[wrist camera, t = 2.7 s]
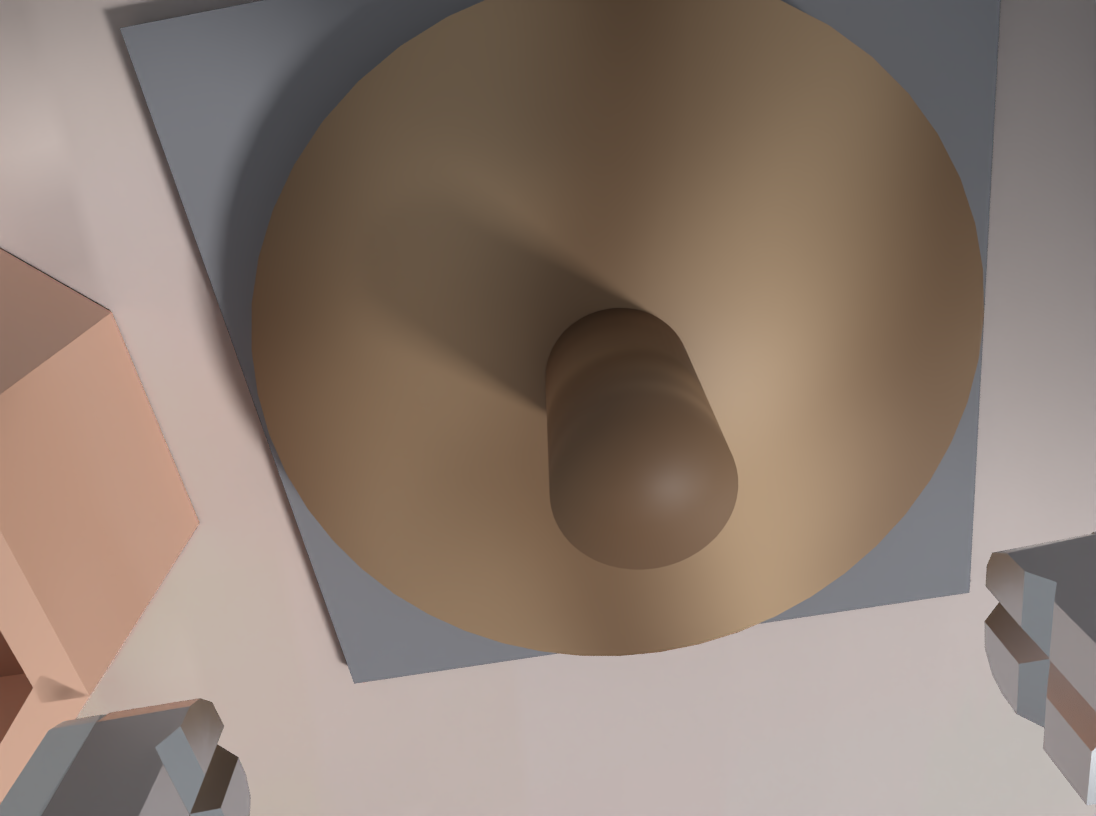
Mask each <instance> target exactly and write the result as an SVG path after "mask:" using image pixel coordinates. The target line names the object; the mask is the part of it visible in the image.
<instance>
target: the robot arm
mask: <svg viewBox="0 0 1096 816" xmlns="http://www.w3.org/2000/svg"><path fill="white" fill-rule="evenodd" d="M986 587H987V588H988V590H989V591H990V592H991V593H992V594H993V595H994V596H995V598H996V599H997V600H998V601H999V603H998V605H997V606H996V607H995V609H994V610H993V611H992V613H991V614H990V615H989V616H988V618H987V619H986V620H985V650H986V654H987V658H988V661H989V665H990V668H991V672H992V675H993V677H994V679H995V681H996V683H997V685H998V687H999V689H1000V691H1001V693H1002V695H1003V696H1004V697H1005V699H1006V700H1007V701H1008V703H1009V704H1010V705H1011V707H1012V708H1013V710H1014V711H1015V712H1016V714H1018V715H1020V716H1022V717H1024V718H1026V719H1028V720H1030V721H1032V722H1034V723H1036V724H1038V725H1040V726H1042V727H1044V744H1043V749H1044V751H1045V752H1046V753H1047V754H1048V756H1049V757H1050V758H1051V760H1052V761H1053V762H1054V764H1055V765H1056V766H1057V767H1058V769H1059V770H1060V771H1061V773H1062V774H1063V775H1064V777H1065V778H1066V779H1067V780H1068V782H1069V783H1070V784H1071V786H1072V787H1073V788H1074V790H1075V791H1076V792H1077V793H1078V795H1079V796H1080V797H1081V799H1082V800H1083V801H1084V802H1085V804H1086V805H1091V804H1096V532H1093V533H1092V534H1090V535H1083V536H1078V537H1073V538H1068V539H1062V540H1057V541H1052V542H1047V543H1041V544H1036V545H1031V546H1025V547H1020V548H1015V549H1010V550H1004V551H999V552H994V553H992V555H991V557H990V560H989V562H988V564H987V572H986ZM223 728H224V725H223V723H222V721H221V719H220V717H219V715H218V713H217V711H216V709H215V707H214V705H213V703H212V702H210V701H206V700H203V699H200V698H199V699H193V700H187V701H180V702H174V703H168V704H162V705H156V706H149V707H143V708H137V709H131V710H124V711H118V712H112V713H109V714H107V715H97V716H91V717H85V718H80V719H74V720H68V721H63V722H61V723H60V724H58V725H56V726H55V727H53V728H51V729H50V730H48V732H47V733H46V735H45V737H44V738H43V740H42V741H41V743H40V744H39V746H38V747H37V749H36V750H35V752H34V753H33V755H32V756H31V758H30V759H29V761H28V763H27V764H26V766H25V767H24V769H23V770H22V772H21V773H20V775H19V776H18V778H17V779H16V781H15V782H14V784H13V785H12V787H11V789H10V790H9V792H8V793H7V795H6V796H5V798H4V799H3V801H2V802H1V804H0V816H250V799H251V797H250V792H249V787H248V782H247V777H246V774H245V771H244V769H243V767H242V764H241V762H240V760H239V758H238V757H237V756H235V755H234V754H232V753H230V752H229V751H227V750H226V749H224V748H222V747H221V746H219V745H217V743H218V741H219V738H220V735H221V733H222V730H223Z"/></svg>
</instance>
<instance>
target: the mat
mask: <svg viewBox="0 0 1096 816" xmlns="http://www.w3.org/2000/svg"><path fill="white" fill-rule="evenodd" d="M482 1H484V0H261V1H256V2H251V3H246V4H241V5H236V6H231V7H226V8H221V9H215V10H210V11H205V12H200V13H195V14H190V15H185V16H180V17H175V18H169V19H164V20H159V21H154V22H149V23H144V24H139V25H134V26H129V27H123V28H120V30H121V33H122V36H123V38H124V41H125V44H126V47H127V50H128V52H129V55H130V58H131V61H132V64H133V66H134V69H135V72H136V75H137V77H138V80H139V83H140V86H141V89H142V91H143V94H144V97H145V100H146V103H147V105H148V108H149V111H150V114H151V117H152V119H153V122H154V125H155V128H156V131H157V133H158V136H159V139H160V142H161V145H162V147H163V150H164V153H165V156H166V159H167V161H168V164H169V167H170V170H171V173H172V175H173V178H174V181H175V184H176V187H177V189H178V192H179V195H180V198H181V201H182V203H183V206H184V209H185V212H186V215H187V217H188V220H189V223H190V226H191V229H192V231H193V234H194V237H195V240H196V242H197V245H198V248H199V251H200V254H201V256H202V259H203V262H204V265H205V268H206V270H207V273H208V276H209V279H210V282H211V284H212V287H213V290H214V293H215V296H216V298H217V301H218V304H219V307H220V310H221V312H222V315H223V318H224V321H225V324H226V326H227V329H228V332H229V335H230V338H231V340H232V343H233V346H234V349H235V352H236V354H237V357H238V360H239V363H240V366H241V368H242V371H243V374H244V377H245V380H246V382H247V385H248V388H249V391H250V394H251V396H252V399H253V402H254V405H255V408H256V410H257V413H258V416H259V419H260V421H261V424H262V427H263V430H264V433H265V435H266V438H267V441H268V444H269V447H270V449H271V452H272V455H273V458H274V461H275V463H276V466H277V469H278V472H279V475H280V477H281V480H282V483H283V486H284V489H285V491H286V494H287V497H288V500H289V503H290V505H291V508H292V511H293V514H294V517H295V519H296V522H297V525H298V528H299V531H300V533H301V536H302V539H303V542H304V545H305V547H306V550H307V553H308V556H309V559H310V561H311V564H312V567H313V570H314V573H315V575H316V578H317V581H318V584H319V586H320V589H321V592H322V595H323V598H324V600H325V603H326V606H327V609H328V612H329V614H330V617H331V620H332V623H333V626H334V628H335V631H336V634H337V637H338V640H339V642H340V645H341V648H342V651H343V654H344V656H345V659H346V662H347V665H348V668H349V670H350V673H351V676H352V679H353V682H354V684H355V683H361V682H368V681H375V680H382V679H388V678H395V677H402V676H409V675H415V674H422V673H429V672H436V671H442V670H449V669H456V668H463V667H470V666H476V665H483V664H490V663H497V662H503V661H510V660H517V659H524V658H530V657H537V656H544V655H551V654H557V653H552V652H543V651H537V650H532V649H528V648H523V647H518V646H514V645H509V644H504V643H501V642H498V641H494V640H491V639H488V638H485V637H482V636H479V635H476V634H473V633H470V632H467V631H464V630H462V629H460V628H458V627H455V626H453V625H451V624H449V623H447V622H444V621H442V620H440V619H438V618H436V617H433V616H431V615H429V614H427V613H425V612H424V611H422V610H420V609H419V608H417V607H415V606H414V605H412V604H410V603H409V602H407V601H405V600H404V599H402V598H400V597H399V596H397V595H395V594H394V593H392V592H391V591H390V590H389V589H387V588H386V587H385V586H383V585H382V584H381V583H379V582H378V581H377V580H376V579H374V578H373V577H372V576H370V575H369V574H368V573H366V572H365V571H364V570H362V569H361V568H360V567H359V566H358V565H357V564H356V563H355V562H354V561H353V560H352V559H351V558H350V557H349V556H348V555H347V554H346V553H345V552H344V551H343V550H342V549H341V548H340V547H339V546H338V545H337V544H336V543H335V542H334V541H333V540H332V539H331V537H330V536H329V535H328V534H327V532H326V531H325V530H324V529H323V527H322V526H321V525H320V524H319V522H318V521H317V520H316V519H315V517H314V516H313V515H312V514H311V512H310V511H309V510H308V508H307V507H306V505H305V504H304V502H303V500H302V499H301V497H300V495H299V494H298V492H297V490H296V489H295V487H294V485H293V484H292V482H291V480H290V479H289V477H288V475H287V474H286V472H285V469H284V467H283V465H282V462H281V460H280V458H279V456H278V453H277V451H276V449H275V446H274V444H273V442H272V440H271V437H270V435H269V432H268V428H267V425H266V421H265V418H264V414H263V411H262V407H261V404H260V400H259V396H258V393H257V385H256V378H255V371H254V364H253V357H252V298H253V291H254V285H255V278H256V271H257V264H258V258H259V254H260V251H261V248H262V244H263V241H264V238H265V234H266V231H267V228H268V224H269V221H270V218H271V214H272V211H273V209H274V207H275V204H276V202H277V200H278V198H279V196H280V194H281V192H282V189H283V187H284V185H285V183H286V181H287V179H288V177H289V174H290V172H291V170H292V168H293V166H294V164H295V163H296V161H297V160H298V158H299V157H300V155H301V153H302V152H303V150H304V149H305V147H306V146H307V144H308V143H309V141H310V140H311V138H312V137H313V135H314V134H315V132H316V131H317V129H318V128H319V126H320V125H321V123H322V122H323V120H324V119H325V118H326V117H327V116H328V115H329V114H330V113H331V111H332V110H333V109H334V108H335V107H336V106H337V105H338V104H339V102H340V101H341V100H342V99H343V98H344V97H345V96H346V95H347V93H348V92H349V91H350V90H351V89H352V88H353V87H354V86H355V84H356V83H357V82H358V81H359V80H361V79H362V78H363V77H364V76H365V75H366V74H368V73H369V72H370V71H371V70H372V69H374V68H375V67H376V66H377V65H378V64H380V63H381V62H382V61H383V60H384V59H385V58H387V57H388V56H389V55H390V54H391V53H393V52H394V51H395V50H396V49H397V48H399V47H400V46H401V45H403V44H404V43H406V42H408V41H409V40H411V39H412V38H414V37H416V36H417V35H419V34H421V33H422V32H424V31H425V30H427V29H429V28H430V27H432V26H433V25H435V24H437V23H438V22H440V21H441V20H443V19H445V18H446V17H448V16H450V15H452V14H455V13H457V12H459V11H462V10H464V9H466V8H468V7H471V6H473V5H475V4H478V3H480V2H482ZM781 1H783V2H785V3H787V4H789V5H791V6H793V7H795V8H797V9H799V10H800V11H802V12H804V13H806V14H808V15H810V16H812V17H814V18H816V19H818V20H820V21H822V22H824V23H826V24H828V25H829V26H831V27H832V28H833V29H835V30H836V31H838V32H839V33H840V34H842V35H843V36H844V37H846V38H847V39H848V40H850V41H851V42H853V43H854V44H855V45H857V46H858V47H859V48H861V49H862V50H863V51H865V52H866V53H868V54H869V55H870V56H872V57H873V58H874V59H875V60H876V61H877V62H878V63H879V64H880V65H881V66H882V67H883V68H884V69H885V70H886V71H887V72H888V73H889V74H890V75H891V76H892V77H893V78H894V79H895V80H896V81H897V82H898V83H899V84H900V85H901V86H902V87H903V88H904V89H905V90H906V91H907V92H908V93H909V95H910V96H911V98H912V99H913V100H914V102H915V103H916V104H917V106H918V107H919V109H920V110H921V111H922V113H923V114H924V115H925V117H926V118H927V120H928V121H929V122H930V124H931V125H932V127H933V128H934V129H935V131H936V132H937V133H938V135H939V137H940V139H941V141H942V143H943V145H944V147H945V149H946V151H947V153H948V155H949V157H950V159H951V161H952V163H953V165H954V166H955V168H956V170H957V172H958V174H959V176H960V178H961V181H962V185H963V188H964V191H965V194H966V197H967V200H968V203H969V206H970V209H971V212H972V215H973V218H974V221H975V225H976V231H977V237H978V243H979V248H980V254H981V260H982V266H983V291H984V305H985V286H986V267H987V248H988V229H989V210H990V191H991V172H992V153H993V134H994V115H995V96H996V77H997V58H998V40H999V21H1000V2H1001V0H781ZM983 324H984V319H983ZM982 343H983V328H982V336H981V344H980V353H979V360H978V364H977V368H976V372H975V376H974V379H973V383H972V387H971V391H970V395H969V399H968V402H967V405H966V407H965V410H964V412H963V415H962V417H961V420H960V422H959V425H958V427H957V430H956V432H955V435H954V437H953V440H952V442H951V444H950V446H949V448H948V449H947V451H946V453H945V455H944V457H943V458H942V460H941V462H940V464H939V465H938V467H937V469H936V471H935V473H934V474H933V476H932V478H931V480H930V481H929V483H928V484H927V485H926V487H925V488H924V490H923V491H922V492H921V494H920V495H919V496H918V498H917V499H916V501H915V502H914V503H913V505H912V506H911V507H910V509H909V510H908V512H907V513H906V514H905V515H904V517H903V518H902V519H901V520H900V521H899V522H898V523H897V524H896V525H895V526H894V527H893V528H892V530H891V531H890V532H889V533H888V534H887V535H886V536H885V537H884V538H883V539H882V540H881V542H880V543H879V544H878V545H877V546H876V547H875V548H873V549H872V550H871V551H870V552H869V553H868V554H867V555H865V556H864V557H863V558H862V559H861V560H860V561H858V562H857V563H856V564H855V565H854V566H853V567H852V568H850V569H849V570H848V571H847V572H846V573H845V574H843V575H842V576H840V577H839V578H837V579H836V580H834V581H833V582H832V583H830V584H829V585H827V586H826V587H824V588H823V589H822V590H820V591H819V592H817V593H816V594H814V595H813V596H811V597H810V598H808V599H806V600H804V601H802V602H801V603H799V604H797V605H795V606H793V607H792V608H790V609H788V610H786V611H784V612H782V613H781V614H779V615H777V616H775V617H773V618H770V619H768V620H766V621H763V622H761V623H767V622H774V621H781V620H787V619H794V618H801V617H808V616H814V615H821V614H828V613H835V612H842V611H848V610H855V609H862V608H869V607H875V606H882V605H889V604H896V603H902V602H909V601H916V600H923V599H929V598H936V597H943V596H950V595H956V594H963V593H969V590H970V571H971V552H972V533H973V514H974V495H975V476H976V457H977V438H978V419H979V400H980V381H981V362H982ZM759 624H760V623H759Z"/></svg>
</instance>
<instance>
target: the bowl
mask: <svg viewBox="0 0 1096 816" xmlns="http://www.w3.org/2000/svg"><path fill="white" fill-rule="evenodd" d="M198 525H199V521H198V518H197V516H196V513H195V511H194V509H193V506H192V504H191V501H190V499H189V497H188V494H187V492H186V489H185V487H184V485H183V482H182V480H181V477H180V475H179V473H178V470H177V468H176V465H175V463H174V461H173V458H172V456H171V453H170V451H169V449H168V446H167V444H166V441H165V439H164V437H163V434H162V432H161V429H160V427H159V425H158V422H157V420H156V417H155V415H154V413H153V410H152V408H151V405H150V403H149V401H148V398H147V396H146V393H145V391H144V389H143V386H142V384H141V381H140V379H139V377H138V374H137V372H136V369H135V367H134V365H133V362H132V360H131V357H130V355H129V353H128V350H127V348H126V345H125V343H124V341H123V338H122V336H121V333H120V331H119V329H118V326H117V324H116V321H115V319H114V317H113V314H112V312H111V311H109V310H107V309H105V308H104V307H102V306H100V305H98V304H96V303H95V302H93V301H91V300H89V299H88V298H86V297H84V296H82V295H81V294H79V293H77V292H75V291H74V290H72V289H70V288H68V287H67V286H65V285H63V284H61V283H60V282H58V281H56V280H54V279H53V278H51V277H49V276H47V275H46V274H44V273H42V272H40V271H39V270H37V269H35V268H33V267H32V266H30V265H28V264H26V263H25V262H23V261H21V260H19V259H18V258H16V257H14V256H12V255H11V254H9V253H7V252H5V251H4V250H2V249H0V804H1V802H2V801H3V799H4V798H5V796H6V795H7V793H8V792H9V790H10V789H11V787H12V785H13V784H14V782H15V781H16V779H17V778H18V776H19V775H20V773H21V772H22V770H23V769H24V767H25V766H26V764H27V763H28V761H29V759H30V758H31V756H32V755H33V753H34V752H35V750H36V749H37V747H38V746H39V744H40V743H41V741H42V740H43V738H44V737H45V735H46V733H47V732H48V730H50V729H51V728H53V727H55V726H56V725H58V724H60V723H61V722H63V721H68V720H74V719H77V717H78V716H79V714H80V713H81V711H82V710H83V708H84V706H85V705H86V703H87V702H88V700H89V698H90V697H91V695H92V694H93V692H94V691H95V689H96V687H97V686H98V684H99V683H100V681H101V680H102V678H103V676H104V675H105V673H106V672H107V670H108V668H109V667H110V665H111V664H112V662H113V661H114V659H115V657H116V656H117V654H118V653H119V651H120V649H121V648H122V646H123V645H124V643H125V641H126V640H127V638H128V637H129V635H130V633H131V632H132V630H133V629H134V627H135V625H136V624H137V622H138V621H139V619H140V617H141V616H142V614H143V613H144V611H145V609H146V608H147V606H148V605H149V603H150V601H151V600H152V598H153V597H154V595H155V593H156V592H157V590H158V589H159V587H160V585H161V584H162V582H163V581H164V579H165V577H166V576H167V574H168V573H169V571H170V569H171V568H172V566H173V565H174V563H175V562H176V560H177V558H178V557H179V555H180V554H181V552H182V550H183V549H184V547H185V546H186V544H187V542H188V541H189V539H190V538H191V536H192V534H193V533H194V531H195V530H196V528H197V526H198Z"/></svg>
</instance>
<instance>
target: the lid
mask: <svg viewBox="0 0 1096 816" xmlns="http://www.w3.org/2000/svg"><path fill="white" fill-rule="evenodd" d="M983 319H984V291H983V266H982V260H981V254H980V248H979V243H978V237H977V231H976V225H975V221H974V218H973V215H972V212H971V209H970V206H969V203H968V200H967V197H966V194H965V191H964V188H963V185H962V181H961V178H960V176H959V174H958V172H957V170H956V168H955V166H954V165H953V163H952V161H951V159H950V157H949V155H948V153H947V151H946V149H945V147H944V145H943V143H942V141H941V139H940V137H939V135H938V133H937V132H936V131H935V129H934V128H933V127H932V125H931V124H930V122H929V121H928V120H927V118H926V117H925V115H924V114H923V113H922V111H921V110H920V109H919V107H918V106H917V104H916V103H915V102H914V100H913V99H912V98H911V96H910V95H909V93H908V92H907V91H906V90H905V89H904V88H903V87H902V86H901V85H900V84H899V83H898V82H897V81H896V80H895V79H894V78H893V77H892V76H891V75H890V74H889V73H888V72H887V71H886V70H885V69H884V68H883V67H882V66H881V65H880V64H879V63H878V62H877V61H876V60H875V59H874V58H873V57H872V56H870V55H869V54H868V53H866V52H865V51H863V50H862V49H861V48H859V47H858V46H857V45H855V44H854V43H853V42H851V41H850V40H848V39H847V38H846V37H844V36H843V35H842V34H840V33H839V32H838V31H836V30H835V29H833V28H832V27H831V26H829V25H828V24H826V23H824V22H822V21H820V20H818V19H816V18H814V17H812V16H810V15H808V14H806V13H804V12H802V11H800V10H799V9H797V8H795V7H793V6H791V5H789V4H787V3H785V2H783V1H781V0H484V1H482V2H480V3H478V4H475V5H473V6H471V7H468V8H466V9H464V10H462V11H459V12H457V13H455V14H452V15H450V16H448V17H446V18H445V19H443V20H441V21H440V22H438V23H437V24H435V25H433V26H432V27H430V28H429V29H427V30H425V31H424V32H422V33H421V34H419V35H417V36H416V37H414V38H412V39H411V40H409V41H408V42H406V43H404V44H403V45H401V46H400V47H399V48H397V49H396V50H395V51H394V52H393V53H391V54H390V55H389V56H388V57H387V58H385V59H384V60H383V61H382V62H381V63H380V64H378V65H377V66H376V67H375V68H374V69H372V70H371V71H370V72H369V73H368V74H366V75H365V76H364V77H363V78H362V79H361V80H359V81H358V82H357V83H356V84H355V86H354V87H353V88H352V89H351V90H350V91H349V92H348V93H347V95H346V96H345V97H344V98H343V99H342V100H341V101H340V102H339V104H338V105H337V106H336V107H335V108H334V109H333V110H332V111H331V113H330V114H329V115H328V116H327V117H326V118H325V119H324V120H323V122H322V123H321V125H320V126H319V128H318V129H317V131H316V132H315V134H314V135H313V137H312V138H311V140H310V141H309V143H308V144H307V146H306V147H305V149H304V150H303V152H302V153H301V155H300V157H299V158H298V160H297V161H296V163H295V164H294V166H293V168H292V170H291V172H290V174H289V177H288V179H287V181H286V183H285V185H284V187H283V189H282V192H281V194H280V196H279V198H278V200H277V202H276V204H275V207H274V209H273V211H272V214H271V218H270V221H269V224H268V228H267V231H266V234H265V238H264V241H263V244H262V248H261V251H260V254H259V258H258V264H257V271H256V278H255V285H254V291H253V298H252V357H253V364H254V371H255V378H256V385H257V393H258V396H259V400H260V404H261V407H262V411H263V414H264V418H265V421H266V425H267V428H268V432H269V435H270V437H271V440H272V442H273V444H274V446H275V449H276V451H277V453H278V456H279V458H280V460H281V462H282V465H283V467H284V469H285V472H286V474H287V475H288V477H289V479H290V480H291V482H292V484H293V485H294V487H295V489H296V490H297V492H298V494H299V495H300V497H301V499H302V500H303V502H304V504H305V505H306V507H307V508H308V510H309V511H310V512H311V514H312V515H313V516H314V517H315V519H316V520H317V521H318V522H319V524H320V525H321V526H322V527H323V529H324V530H325V531H326V532H327V534H328V535H329V536H330V537H331V539H332V540H333V541H334V542H335V543H336V544H337V545H338V546H339V547H340V548H341V549H342V550H343V551H344V552H345V553H346V554H347V555H348V556H349V557H350V558H351V559H352V560H353V561H354V562H355V563H356V564H357V565H358V566H359V567H360V568H361V569H362V570H364V571H365V572H366V573H368V574H369V575H370V576H372V577H373V578H374V579H376V580H377V581H378V582H379V583H381V584H382V585H383V586H385V587H386V588H387V589H389V590H390V591H391V592H392V593H394V594H395V595H397V596H399V597H400V598H402V599H404V600H405V601H407V602H409V603H410V604H412V605H414V606H415V607H417V608H419V609H420V610H422V611H424V612H425V613H427V614H429V615H431V616H433V617H436V618H438V619H440V620H442V621H444V622H447V623H449V624H451V625H453V626H455V627H458V628H460V629H462V630H464V631H467V632H470V633H473V634H476V635H479V636H482V637H485V638H488V639H491V640H494V641H498V642H501V643H504V644H509V645H514V646H518V647H523V648H528V649H532V650H537V651H543V652H552V653H561V654H570V655H580V656H623V655H633V654H644V653H654V652H662V651H667V650H672V649H677V648H682V647H687V646H692V645H697V644H701V643H704V642H708V641H711V640H714V639H717V638H721V637H724V636H727V635H730V634H734V633H737V632H740V631H742V630H744V629H747V628H749V627H751V626H754V625H756V624H759V623H761V622H763V621H766V620H768V619H770V618H773V617H775V616H777V615H779V614H781V613H782V612H784V611H786V610H788V609H790V608H792V607H793V606H795V605H797V604H799V603H801V602H802V601H804V600H806V599H808V598H810V597H811V596H813V595H814V594H816V593H817V592H819V591H820V590H822V589H823V588H824V587H826V586H827V585H829V584H830V583H832V582H833V581H834V580H836V579H837V578H839V577H840V576H842V575H843V574H845V573H846V572H847V571H848V570H849V569H850V568H852V567H853V566H854V565H855V564H856V563H857V562H858V561H860V560H861V559H862V558H863V557H864V556H865V555H867V554H868V553H869V552H870V551H871V550H872V549H873V548H875V547H876V546H877V545H878V544H879V543H880V542H881V540H882V539H883V538H884V537H885V536H886V535H887V534H888V533H889V532H890V531H891V530H892V528H893V527H894V526H895V525H896V524H897V523H898V522H899V521H900V520H901V519H902V518H903V517H904V515H905V514H906V513H907V512H908V510H909V509H910V507H911V506H912V505H913V503H914V502H915V501H916V499H917V498H918V496H919V495H920V494H921V492H922V491H923V490H924V488H925V487H926V485H927V484H928V483H929V481H930V480H931V478H932V476H933V474H934V473H935V471H936V469H937V467H938V465H939V464H940V462H941V460H942V458H943V457H944V455H945V453H946V451H947V449H948V448H949V446H950V444H951V442H952V440H953V437H954V435H955V432H956V430H957V427H958V425H959V422H960V420H961V417H962V415H963V412H964V410H965V407H966V405H967V402H968V399H969V395H970V391H971V387H972V383H973V379H974V376H975V372H976V368H977V364H978V360H979V353H980V344H981V336H982V328H983Z"/></svg>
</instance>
